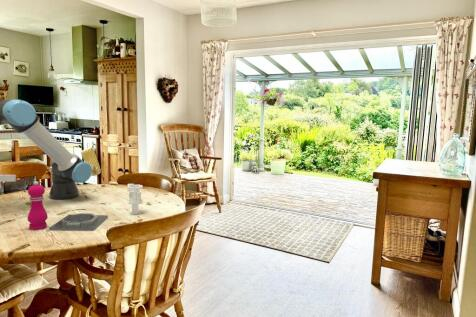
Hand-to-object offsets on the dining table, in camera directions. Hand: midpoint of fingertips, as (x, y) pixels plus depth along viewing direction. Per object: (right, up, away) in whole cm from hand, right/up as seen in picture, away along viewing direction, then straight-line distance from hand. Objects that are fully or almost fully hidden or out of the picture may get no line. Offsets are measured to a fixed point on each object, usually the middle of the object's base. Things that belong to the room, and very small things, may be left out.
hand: (8, 181), depth 133 cm
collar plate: (+24, -20, +12) cm, 33 cm away
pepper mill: (+9, -20, +5) cm, 23 cm away
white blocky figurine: (+43, -18, +29) cm, 55 cm away
